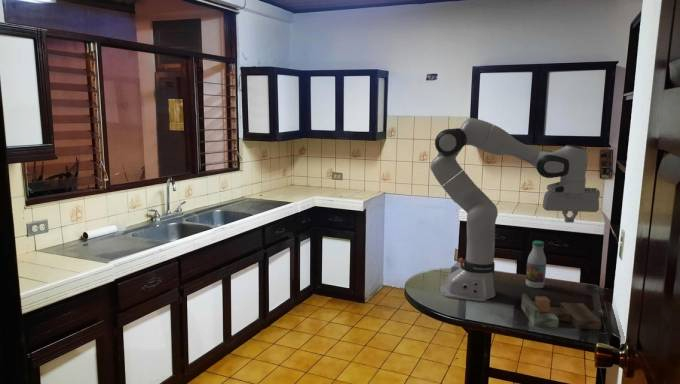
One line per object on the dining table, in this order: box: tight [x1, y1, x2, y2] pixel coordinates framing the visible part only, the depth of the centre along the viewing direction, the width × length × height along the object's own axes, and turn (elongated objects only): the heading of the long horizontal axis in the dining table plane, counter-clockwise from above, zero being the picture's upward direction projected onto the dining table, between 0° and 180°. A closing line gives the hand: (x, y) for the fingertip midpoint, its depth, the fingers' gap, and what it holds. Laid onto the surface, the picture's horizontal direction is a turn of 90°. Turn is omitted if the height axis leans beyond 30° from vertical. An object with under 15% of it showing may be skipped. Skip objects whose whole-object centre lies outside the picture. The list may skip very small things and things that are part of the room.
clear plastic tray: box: [520, 293, 602, 330], centre depth 179 cm, size 23×16×6 cm
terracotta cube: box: [534, 295, 551, 312], centre depth 179 cm, size 4×4×4 cm
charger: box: [450, 261, 461, 274], centre depth 229 cm, size 5×9×15 cm
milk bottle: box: [525, 240, 547, 289], centre depth 211 cm, size 8×8×20 cm
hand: (569, 222), depth 189 cm, fingers closed
